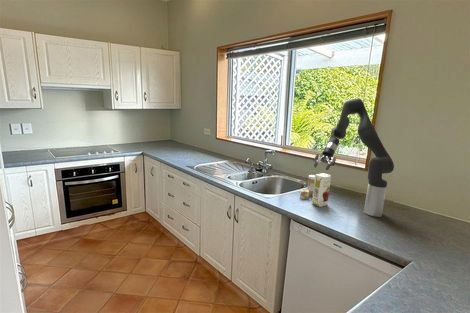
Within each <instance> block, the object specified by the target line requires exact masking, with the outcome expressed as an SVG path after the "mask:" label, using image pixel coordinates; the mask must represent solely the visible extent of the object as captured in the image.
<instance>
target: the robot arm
mask: <svg viewBox="0 0 470 313" xmlns="http://www.w3.org/2000/svg"><path fill="white" fill-rule="evenodd" d="M355 114H356V115H357V114H358V117H359V124H358V127H357V135H358V136H359V138H360V142H362V144H363V145H364V146H365V147H367V148H368V149H369V151H371V152H372V153H373V154H374V156H375V157H373V158H371V159H370V161H369V163H368V173H367V180H368V183H367V189H366V196H365V201H364V208H363V213H364V214H365V215H367V216H372V217H377V218H378V217H379V218H381V217H383V211H384V207H385V206H384V205H385V198H386V192H387V187H388V181H387V180H385V179H383V174H390V173H392V172H394V168H395V164H394V161H393V159H392V157H391V156H390V154H389V153H388V151H387V150H386V148H385V146H384V144H383V142H382V141H381V138H380V137H379V135H378V133H377V131H376V128H375V126H374V125H373V123H372V121H371V118H370V117H369V114H368V111H367V109H366V106H365V103H364V102H363V100H362V99H361V98H354V99H353V98H352V99H347V100H345V101H344V102H343V105H342V109H341V112H340V117H339V120H338V121H337V125H336V126H334V127H332V128H331V131H330V136H329V139H328V142H327V143H326V144H325V147H324V148H323V150H322V153H321V155H320V154H319V153H317V154H316V155H315V156H314V158H313V161H314V164H313V168H317V166H318V165H319V163H322V162H323V163H328V164H326V167H325V171H328V170H330V167H334V166H335V164H336V161H337V159H336V156H334V155H335V153H336V152H337V148H338V146H339V143H340V140H343V139H345V138H346V135H347V129H348V127H349V126H350V119H349V115H355ZM333 156H334V157H333ZM330 161H331V162H330Z"/></svg>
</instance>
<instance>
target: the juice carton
mask: <svg viewBox="0 0 470 313" xmlns="http://www.w3.org/2000/svg"><path fill="white" fill-rule="evenodd" d="M314 176H315V182H314V191H313V196H312V201H311V204H312V205H315V206H317V207H318V208H321V207H322V208H323V207H325V206H328V202H329V195H330V188H331V181H332V180H331V179H332V175H331V174H327V173H323V172H322V173H316V174H314Z"/></svg>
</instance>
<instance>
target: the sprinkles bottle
mask: <svg viewBox="0 0 470 313" xmlns="http://www.w3.org/2000/svg"><path fill="white" fill-rule="evenodd" d="M307 182H308V183H307V188H306V190H309V196H311V197H313V191H314V182H315V174H309V175H308V180H307Z"/></svg>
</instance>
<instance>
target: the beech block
mask: <svg viewBox="0 0 470 313" xmlns="http://www.w3.org/2000/svg"><path fill="white" fill-rule="evenodd" d="M299 194H300V196H299V198H300V200H309V190H307V188H306V189H305V188H300V192H299Z"/></svg>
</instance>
